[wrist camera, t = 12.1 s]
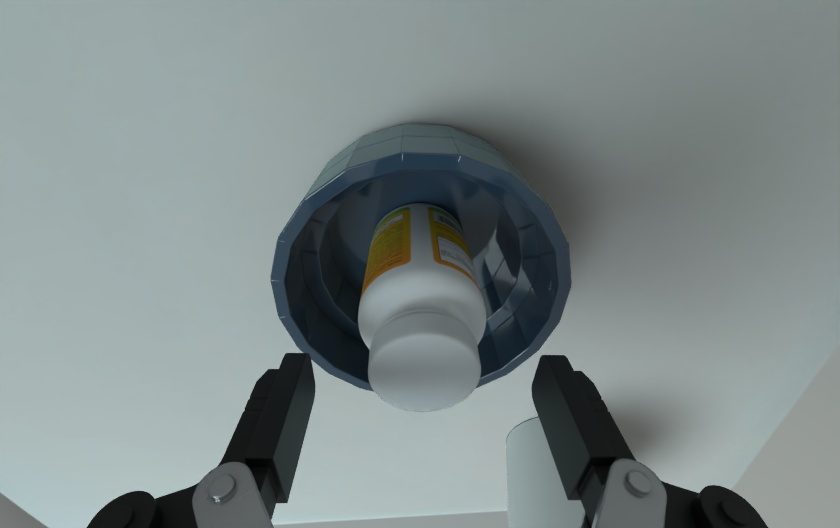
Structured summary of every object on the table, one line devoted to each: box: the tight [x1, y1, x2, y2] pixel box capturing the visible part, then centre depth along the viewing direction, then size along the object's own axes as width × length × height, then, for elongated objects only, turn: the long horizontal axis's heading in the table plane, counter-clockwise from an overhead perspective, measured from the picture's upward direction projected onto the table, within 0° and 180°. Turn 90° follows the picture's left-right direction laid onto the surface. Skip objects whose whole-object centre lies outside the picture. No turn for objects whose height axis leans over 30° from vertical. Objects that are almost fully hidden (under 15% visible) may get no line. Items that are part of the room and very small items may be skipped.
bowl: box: [270, 124, 571, 391], centre depth 19 cm, size 13×13×6 cm
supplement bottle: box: [358, 203, 486, 412], centre depth 17 cm, size 5×5×10 cm
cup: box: [506, 417, 585, 528], centre depth 27 cm, size 12×12×12 cm
